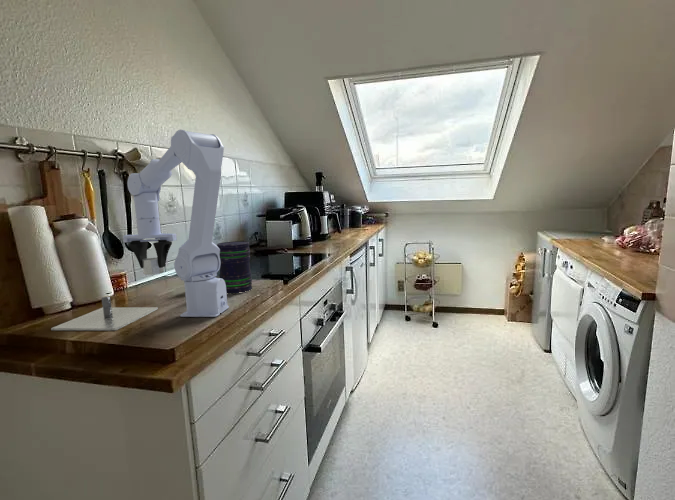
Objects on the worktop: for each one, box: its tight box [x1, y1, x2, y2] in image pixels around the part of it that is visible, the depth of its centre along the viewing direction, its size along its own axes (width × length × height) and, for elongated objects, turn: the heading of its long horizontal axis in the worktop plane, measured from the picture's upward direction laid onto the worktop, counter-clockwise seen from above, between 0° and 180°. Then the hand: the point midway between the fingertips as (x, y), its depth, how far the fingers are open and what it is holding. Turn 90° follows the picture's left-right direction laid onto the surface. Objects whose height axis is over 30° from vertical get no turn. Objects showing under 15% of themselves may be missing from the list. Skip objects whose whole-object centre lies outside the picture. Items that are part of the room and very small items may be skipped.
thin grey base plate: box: [50, 296, 158, 332], centre depth 91 cm, size 16×16×6 cm
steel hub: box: [142, 257, 165, 276], centre depth 104 cm, size 5×5×4 cm
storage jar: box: [216, 240, 253, 294], centre depth 116 cm, size 10×10×15 cm
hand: (153, 267), depth 104 cm, fingers closed on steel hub, 5 cm apart
